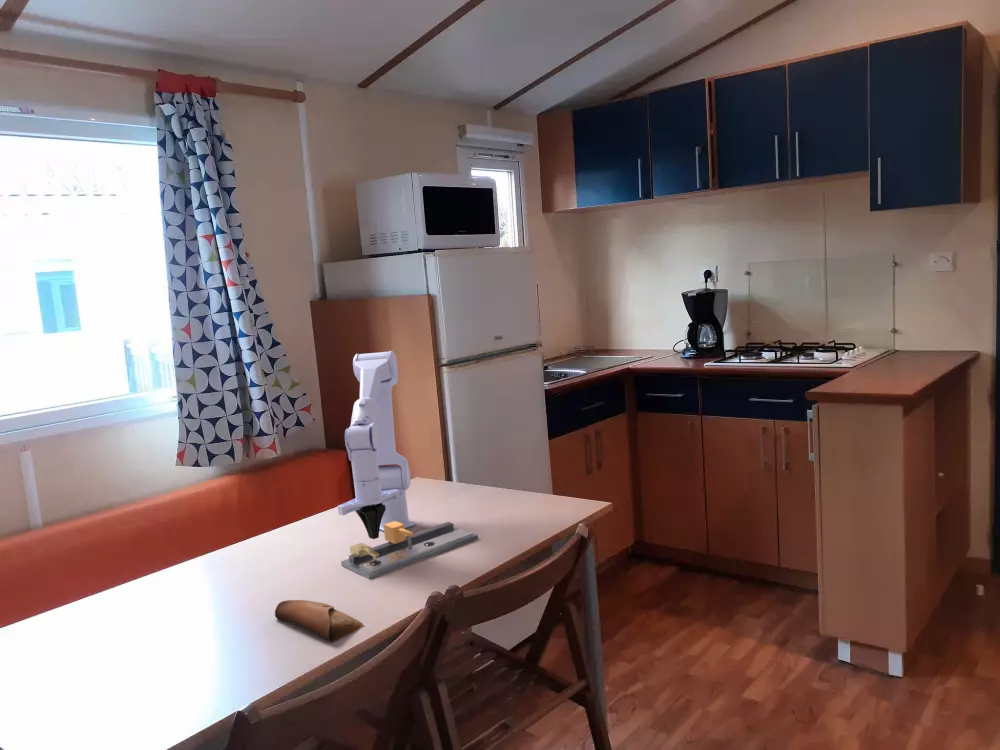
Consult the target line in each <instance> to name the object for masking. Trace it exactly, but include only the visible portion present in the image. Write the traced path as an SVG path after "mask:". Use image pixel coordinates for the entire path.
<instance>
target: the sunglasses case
mask: <svg viewBox="0 0 1000 750" xmlns="http://www.w3.org/2000/svg"><path fill="white" fill-rule="evenodd" d="M274 616H275V618H276V619H277V620H279V621H282V622H286V623H289V624H292V625H295V626H297V627H298V628H301V629H304V630H306V631H308V632H310V633H312V634H314V635H317V636H318V637H321V638H324V639H325V640H327V641H331V643H335V642H337V641H338V640H341V639H342V638H344V637H346V636H348V635H350V634H352V633H354V632H356V631H357V630H359V629H361V628H364V627H365V624H364V623H362V622H361V621H359V620H358V619H356V618H355V617H353V616H351V615H348V614H347V613H345V612H342V611H340V610H338V609H335V606H333V605H330V604H328V603H324V602H318V601H312V600H307V599H306V600H305V599H289V600H283V601H280V602H278V604H277V605H276V608H275V610H274Z"/></svg>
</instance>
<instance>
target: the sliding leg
mask: <svg viewBox="0 0 1000 750" xmlns="http://www.w3.org/2000/svg"><path fill="white" fill-rule="evenodd" d="M383 532H384V539H385V541H386V542H391V543H394V544H396V543H399V542H401V541H404V540H406V537H405V536H407V538H408V547H409V549H412V545H411V536H413V534H414V532H413V531H411V530H408V529H406V528H404V524H402V523H399V522H396V521H393V522H390V523H387V524H384V531H383Z"/></svg>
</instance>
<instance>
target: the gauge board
mask: <svg viewBox="0 0 1000 750" xmlns="http://www.w3.org/2000/svg"><path fill="white" fill-rule="evenodd" d="M405 537H406V540H404V541H401V542H399V543H396V544H394V543H391V542H389V541H386V542H384V543H382V544H379V545H376V546H373V547H371V546H370V545H368V544H365V543H363V542H360V543H357V544H354V545H351V546H349V552H350V555H349V554H348V559H344V560H341V561H340V562H341V563H340V565H341V567H343V568H346V569H348V570H349V571H352V572H354V573H355V574H358V575H360V576H362V577H364V578H365V579H368V580H371V579H372V578H376V577H378V576H381V575H384V574H386V573H387V574H388V573H389V572H392V571H395V570H397V569H400V567H401V568H403V567H406V566H408V565H411V564H414V563H417V562H420V561H423V560H425V559H427V558H431V557H434V556H436V555H438V554H441V553H444V552H447V551H449V550H453V549H455V548H457V547H460V546H461V547H462V546H463V545H465V544H468V543H471V542H474V541H476V540H478V539H479V535H478V534H476V533H473V532H470V531H468V530H467V531H466V530H464V529H461V528H458V527H455V526H454V523H453V522H451V521H446V522H443V523H441V524H437V525H434V526H432V527H429V528H426V529H423V530H421V531H420V530H419V531H417V532H413V536H411V545H412V549H409V547H408V538H407V536H406V535H405Z"/></svg>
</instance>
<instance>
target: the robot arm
mask: <svg viewBox="0 0 1000 750" xmlns="http://www.w3.org/2000/svg"><path fill="white" fill-rule="evenodd" d="M352 366H353V367H352V369H353V374H354V376H355V378H356V379H357V382H359V399H357V400H356V401H354V403H353V408H352V414H351V418H350V420H351V421H350V426H349V427H347V428H346V429H345V431H344V442H345V443H344V444H345V447H346V451H347V455H348V460H349V461H350V462H351V468H352V478H353V479H352V480H353V486H354V493H355V494H354V496H355V498H353V499H351V500H349V501H347V502H344V503H342V504H341V503H340V504H339V505H337V509H338V510H337V512H338V515H340V516H346V515H347V514H349V513H352V512H355V513H356V514H357V515H358V517H359V518H360V520H361V521H362V523H363V526H364V527H365V530H366V532H367V535H368V538H369V539H372V540H375V539H378V538H380V531H382V532H384V524H387V523H390V522H393V521H396V522H399V523H402V524H404V528H405V529H407V528H410V527H413V526H416V525H417V522H415V521H412V520H410V519H409V510H408V503H407V502H408V501H407V494H406V493H407V492H406V490H409V488H410V487H411V469H410V466H409V461H408V458H406V457H405V456H403V455H402V454H400V453H399V452H398V451H397V450H396V449H397V448H396V435H395V425H394V423H395V421H394V412H393V410H394V409H393V399H392V398H393V397H392V395H393V393H392V392H393V387H394V386H395V385H397V384H398V383H399V370H398V369H399V368H398V367H399V366H398V360H397V356H396V353H395V352H394V351H393V350H389V351H382V352H381V351H380V352H371V353H369V352H368V353H355V355H354V357H353V360H352Z"/></svg>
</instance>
